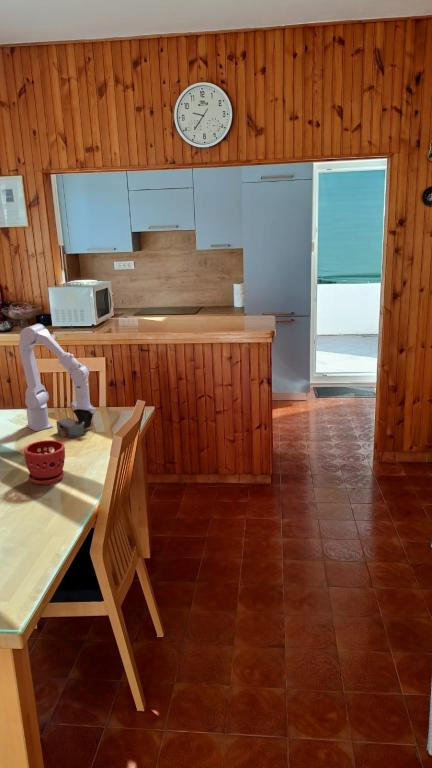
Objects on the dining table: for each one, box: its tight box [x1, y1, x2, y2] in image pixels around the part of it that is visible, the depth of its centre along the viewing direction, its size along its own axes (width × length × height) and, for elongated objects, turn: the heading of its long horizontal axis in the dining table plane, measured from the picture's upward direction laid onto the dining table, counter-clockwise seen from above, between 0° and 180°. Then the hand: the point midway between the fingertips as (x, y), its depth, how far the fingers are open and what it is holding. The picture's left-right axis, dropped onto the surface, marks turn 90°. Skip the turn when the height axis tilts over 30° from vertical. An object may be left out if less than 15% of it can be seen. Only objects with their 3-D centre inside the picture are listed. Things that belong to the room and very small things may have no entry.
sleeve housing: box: [56, 417, 85, 439], centre depth 244 cm, size 11×6×5 cm, turn 42°
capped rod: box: [58, 421, 94, 438], centre depth 246 cm, size 3×14×3 cm, turn 133°
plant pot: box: [23, 439, 66, 485], centre depth 200 cm, size 13×13×12 cm
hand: (85, 426), depth 248 cm, fingers closed on capped rod, 3 cm apart
